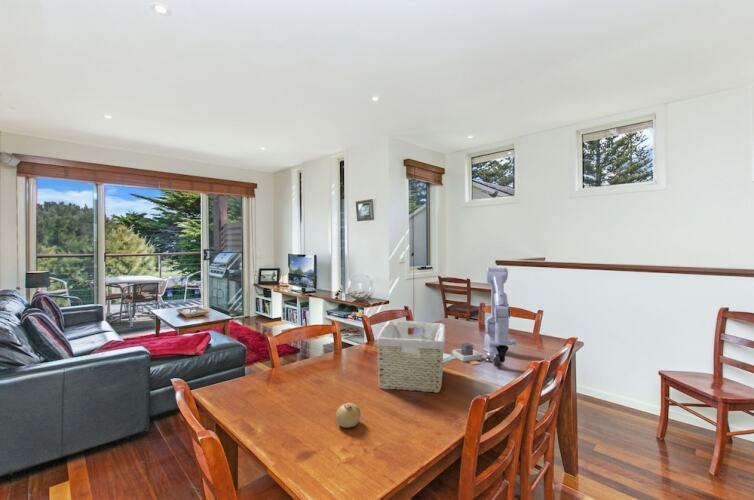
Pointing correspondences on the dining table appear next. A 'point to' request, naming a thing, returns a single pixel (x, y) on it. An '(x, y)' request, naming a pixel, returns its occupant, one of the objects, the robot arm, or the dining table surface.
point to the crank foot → (488, 360)
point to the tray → (473, 357)
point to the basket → (411, 356)
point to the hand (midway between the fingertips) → (501, 361)
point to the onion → (348, 415)
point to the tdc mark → (474, 362)
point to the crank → (494, 358)
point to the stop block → (467, 349)
